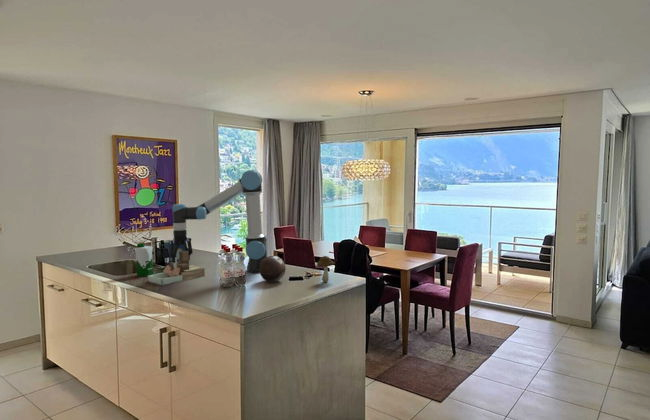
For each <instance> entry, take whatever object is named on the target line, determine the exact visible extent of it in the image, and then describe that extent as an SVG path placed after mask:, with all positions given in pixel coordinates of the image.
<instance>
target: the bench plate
mask: <svg viewBox="0 0 650 420" xmlns="http://www.w3.org/2000/svg"><path fill="white" fill-rule="evenodd" d="M173 270H174V268H173ZM205 271H206V270H205V267H201V266H197V265H192V264H189V270H184V271H183V270H180V272H179V275H182V280H183V281H182V282H184V281H188V280H193V279H196V278H202V277H206V275H205V274H206V272H205Z"/></svg>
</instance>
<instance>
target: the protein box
mask: <svg viewBox="0 0 650 420" xmlns="http://www.w3.org/2000/svg"><path fill="white" fill-rule="evenodd" d="M169 240H170V239H167V240H164V241H163V242H164V245H165V248H167V249H168V252H169V246H170V244H169ZM173 244H174V245H175V242H174V243H173ZM186 244H187V240H186ZM174 247H175V246H173V250H174ZM179 251H185V250H184V248H183V246H182V245H179V247H178V250H177V253H176V257H177V262H179ZM169 262H172V257H169Z"/></svg>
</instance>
